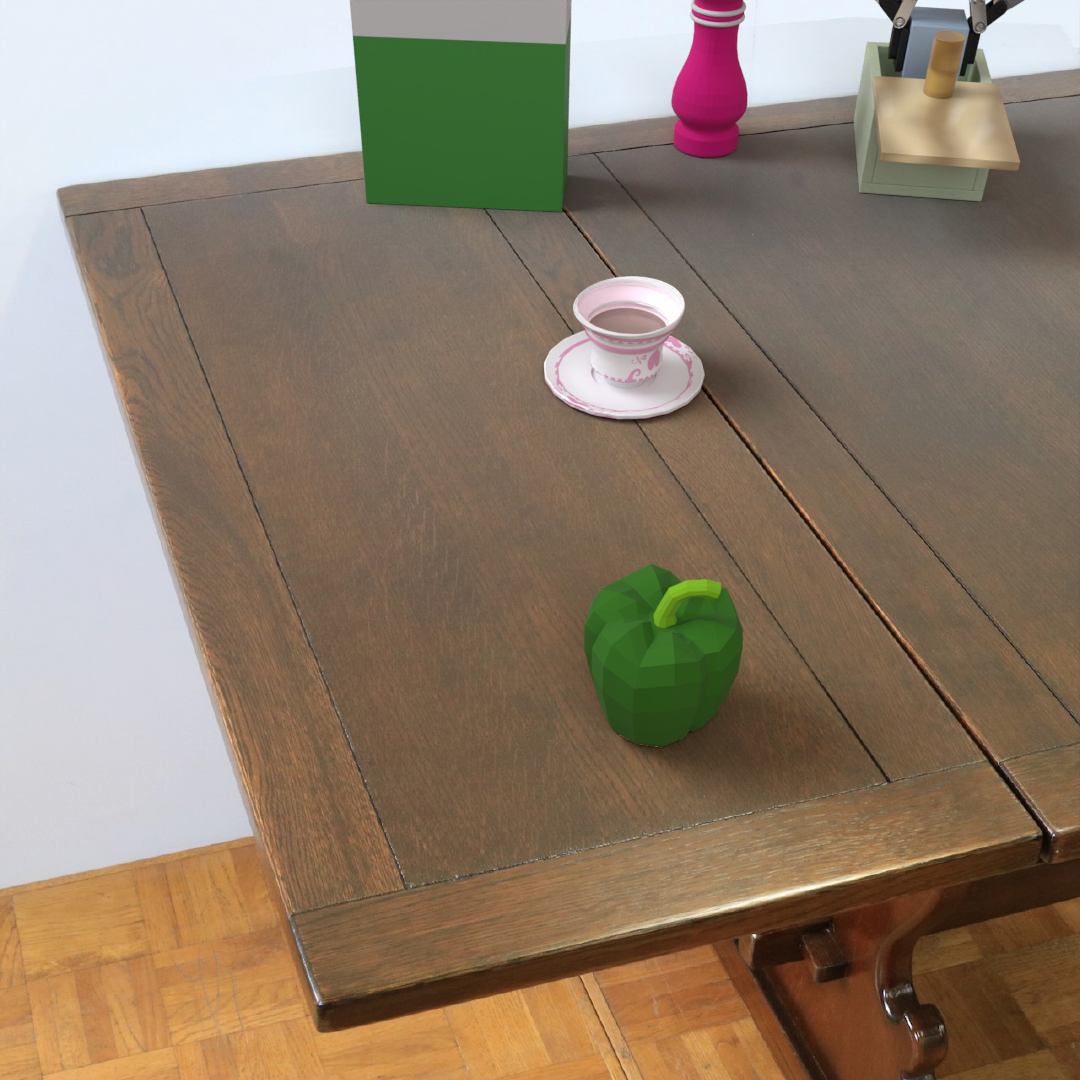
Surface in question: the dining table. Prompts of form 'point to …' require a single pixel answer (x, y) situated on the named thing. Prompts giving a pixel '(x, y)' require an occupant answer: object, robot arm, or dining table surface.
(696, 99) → the pepper mill
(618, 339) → the teacup
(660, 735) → the bell pepper
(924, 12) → the block
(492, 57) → the hardback book
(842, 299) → the dining table surface
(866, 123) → the box
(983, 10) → the robot arm
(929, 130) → the wooden box lid
